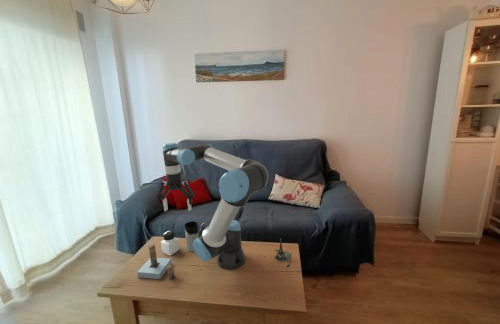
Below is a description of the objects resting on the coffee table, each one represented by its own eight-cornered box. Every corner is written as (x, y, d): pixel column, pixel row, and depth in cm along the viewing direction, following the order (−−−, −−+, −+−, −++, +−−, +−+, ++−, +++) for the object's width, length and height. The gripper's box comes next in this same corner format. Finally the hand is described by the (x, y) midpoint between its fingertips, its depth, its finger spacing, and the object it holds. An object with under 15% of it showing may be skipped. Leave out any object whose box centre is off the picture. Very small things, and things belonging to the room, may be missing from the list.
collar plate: (171, 263, 129) (170, 258, 128) (160, 279, 117) (159, 273, 117) (151, 262, 131) (150, 257, 130) (138, 277, 119) (137, 272, 119)
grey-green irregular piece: (290, 269, 122) (290, 246, 119) (270, 267, 124) (270, 244, 121) (292, 252, 136) (292, 231, 133) (274, 250, 138) (274, 229, 135)
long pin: (159, 268, 125) (156, 244, 122) (156, 272, 122) (152, 248, 119) (154, 268, 126) (150, 244, 123) (151, 271, 123) (147, 247, 120)
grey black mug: (184, 245, 145) (181, 223, 142) (206, 238, 152) (204, 217, 148) (187, 252, 138) (185, 229, 134) (211, 245, 144) (209, 223, 141)
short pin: (175, 275, 120) (174, 264, 118) (172, 279, 117) (171, 268, 115) (170, 274, 120) (168, 264, 119) (167, 279, 117) (165, 268, 116)
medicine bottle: (179, 249, 141) (177, 231, 139) (170, 256, 136) (167, 237, 133) (171, 246, 145) (169, 228, 142) (162, 252, 139) (159, 233, 137)
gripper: (198, 170, 127) (202, 207, 132) (154, 171, 130) (159, 207, 135) (193, 174, 120) (197, 213, 124) (147, 175, 123) (152, 213, 127)
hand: (178, 210), depth 129 cm, fingers open, 13 cm apart
